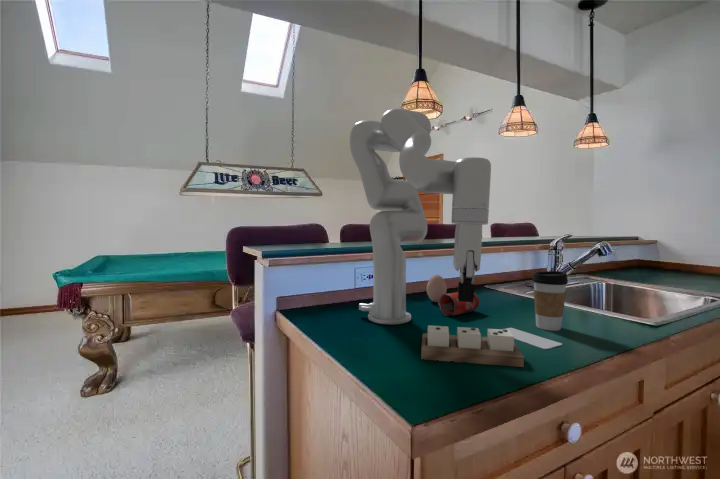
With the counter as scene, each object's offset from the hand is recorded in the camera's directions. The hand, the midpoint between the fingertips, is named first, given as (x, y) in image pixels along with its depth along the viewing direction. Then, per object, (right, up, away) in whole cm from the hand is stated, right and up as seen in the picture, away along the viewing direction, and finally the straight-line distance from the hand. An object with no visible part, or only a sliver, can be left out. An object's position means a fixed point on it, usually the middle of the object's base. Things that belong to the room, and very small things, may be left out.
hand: (465, 300), depth 78 cm
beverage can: (+8, -10, +33) cm, 35 cm away
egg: (+4, -9, +47) cm, 48 cm away
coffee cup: (+28, -11, +18) cm, 34 cm away
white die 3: (+7, -11, -2) cm, 13 cm away
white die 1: (-6, -10, +1) cm, 12 cm away
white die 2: (+1, -11, 0) cm, 11 cm away
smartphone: (+18, -11, +10) cm, 23 cm away
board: (+1, -11, 0) cm, 12 cm away
